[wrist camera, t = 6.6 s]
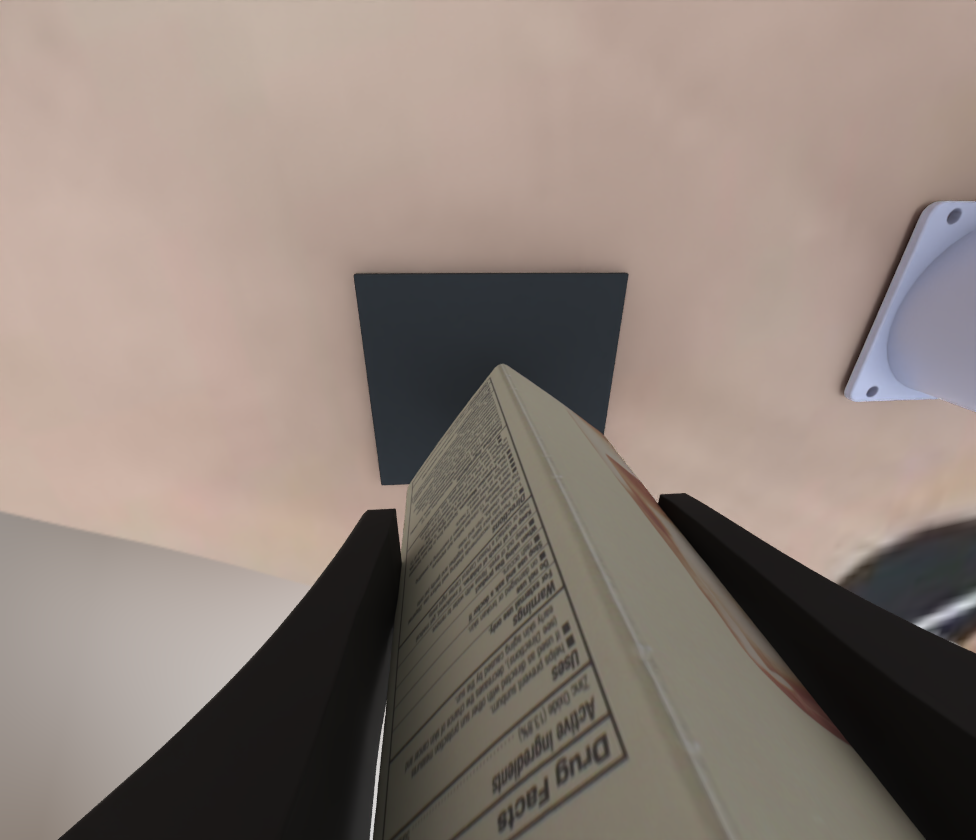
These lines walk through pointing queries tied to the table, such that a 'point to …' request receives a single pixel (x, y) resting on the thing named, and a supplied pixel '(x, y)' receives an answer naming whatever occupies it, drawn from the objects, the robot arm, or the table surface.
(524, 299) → the pad
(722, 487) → the table surface
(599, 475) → the product carton box
